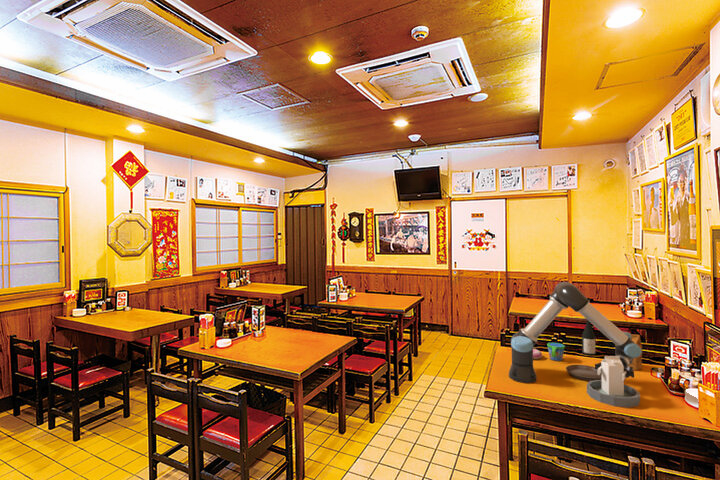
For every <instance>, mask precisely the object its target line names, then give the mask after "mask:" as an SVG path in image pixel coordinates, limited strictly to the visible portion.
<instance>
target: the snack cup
mask: <svg viewBox="0 0 720 480" xmlns="http://www.w3.org/2000/svg"><path fill="white" fill-rule="evenodd" d="M565 349H566V346H565V345H564V344H562V343H559V342H548V343H547V350H548V355H549V358H550V360H551V361H552V360H553V361H557V362H561V361H562V360H563V358H564V351H565Z"/></svg>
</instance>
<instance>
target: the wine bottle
mask: <svg viewBox="0 0 720 480" xmlns="http://www.w3.org/2000/svg"><path fill="white" fill-rule="evenodd" d="M585 319H586V318H585ZM585 323H586V324H585V326H584V327H585V328H584V330H583V331H582V335H581V351H582V353H583V355H586V356H594V355H596V336H595V332H594V330H593V328H592V323H590V322H589V321H588V320H587V319H586V320H585Z"/></svg>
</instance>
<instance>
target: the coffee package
mask: <svg viewBox="0 0 720 480" xmlns="http://www.w3.org/2000/svg"><path fill="white" fill-rule="evenodd" d="M630 334H631V338H632V339H631V340H632V341H633V342H634V343H636V344H637V345H638V346H639V347H640V348H641V351H642V353H641V355H640V356H639V357H637V358H633V361H632V363H631V364H630V365H629V367H633V371H638V370H640V369H642V368H643V362H642V361H643V360H642V358H643V344H642V340H641V334H632V333H630ZM629 367H628V368H629Z"/></svg>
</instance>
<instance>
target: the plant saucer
mask: <svg viewBox="0 0 720 480" xmlns="http://www.w3.org/2000/svg"><path fill="white" fill-rule="evenodd" d="M565 370H566V372H567V373H568V374H569V375H570V376H572V377H573V378H575V379H579V380H581V381H587V382H589V381H594V380H602V372H601V373H600V375H598V372H597V370H596V369H595V366H592V365H585V364H572V365H571V364H570V365H567V366H566V367H565Z"/></svg>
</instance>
